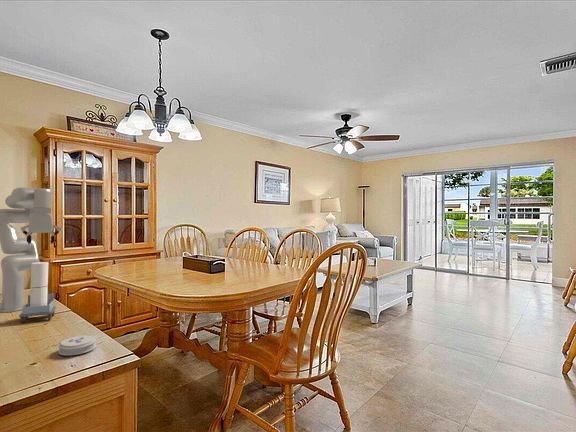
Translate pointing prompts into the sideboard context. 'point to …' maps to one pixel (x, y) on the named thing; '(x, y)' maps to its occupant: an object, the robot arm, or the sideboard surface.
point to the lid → (77, 345)
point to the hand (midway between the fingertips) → (41, 243)
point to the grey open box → (38, 309)
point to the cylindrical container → (39, 284)
